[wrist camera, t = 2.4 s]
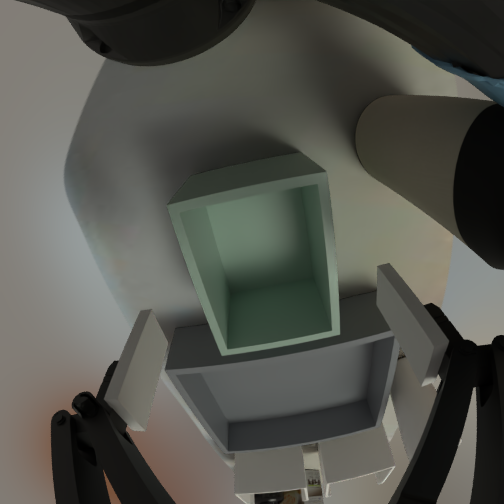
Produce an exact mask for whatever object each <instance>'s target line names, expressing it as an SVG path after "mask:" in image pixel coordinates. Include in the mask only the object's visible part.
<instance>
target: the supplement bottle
mask: <svg viewBox="0 0 504 504" xmlns="http://www.w3.org/2000/svg"><path fill="white" fill-rule="evenodd" d="M283 501H284V491H281V492H271V493H258V494H254V503H255V504H281V503H282V502H283Z"/></svg>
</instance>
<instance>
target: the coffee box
mask: <svg viewBox="0 0 504 504" xmlns="http://www.w3.org/2000/svg"><path fill="white" fill-rule="evenodd" d="M305 475H306V483H307V491H308V499H309V500H308V501H302V493H301V489H297V490H290V491H284V501H283V502H282V503H281V504H324V503H323V496H322V488H321V481H320V474H319V470H305Z"/></svg>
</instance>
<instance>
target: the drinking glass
mask: <svg viewBox="0 0 504 504" xmlns="http://www.w3.org/2000/svg"><path fill="white" fill-rule="evenodd" d="M390 395H391V399H392V402H393V406H394V410H395V413H396V417H397V421H398V425H399V429H400V433H401V437H402V441H403V444H404V448H405V451H406V453H407V456H408V459H409V461H411V459H412V457H413V455H414V453H415V450H416V448H417V446H418V443H419V441H420V439H421V436H422V434H423V431H424V429H425V426H426V423H427V421H428V418H429V415H430V413H431V410H432V407H433V404H434V401H435V398H436V395H437V392H436V389H435V388H434V386H433V385H432V383H430V384H427V385H425V386H422V387H421V385H420V383H419V381H418V379H417V377H416V375H415V373H414V371H413V369H412V367H411V365H410V364H409V362H408V360H407V358H406V357H404V358H401V359H399V360H397V365H396V369H395V374H394V378H393V382H392V386H391V390H390ZM461 442H462V438H461V439H460V442H459V445H460V444H461ZM459 445H458V446H459Z"/></svg>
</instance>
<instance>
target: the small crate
mask: <svg viewBox="0 0 504 504" xmlns="http://www.w3.org/2000/svg"><path fill="white" fill-rule="evenodd" d="M167 209H168V212H169V215H170V218H171V221H172V224H173V227H174V230H175V233H176V236H177V239H178V242H179V245H180V248H181V251H182V254H183V256H184V259H185V262H186V265H187V268H188V270H189V273H190V276H191V279H192V281H193V284H194V287H195V290H196V292H197V295H198V297H199V300H200V303H201V305H202V308H203V311H204V313H205V316H206V318H207V321H208V323H209V326H210V328H211V331H212V333H213V336H214V338H215V341H216V343H217V345H218V348H219V350H220V353H221V355H222V356H225V355H232V354H239V353H246V352H252V351H259V350H265V349H271V348H277V347H282V346H288V345H293V344H298V343H303V342H308V341H313V340H318V339H322V338H327V337H331V336H336V335H340V313H339V291H338V275H337V261H336V248H335V237H334V227H333V217H332V208H331V200H330V192H329V184H328V177H327V171H325V170H324V169H323V168H322V167H320V166H319V165H318V164H316V163H315V162H314V161H312V160H311V159H310V158H308V157H307V156H306V155H304V154H303V153H302V152H299V153H293V154H288V155H282V156H277V157H271V158H266V159H261V160H256V161H251V162H247V163H242V164H237V165H233V166H228V167H224V168H220V169H215V170H211V171H207V172H203V173H199V174H195V175H191V176H190V177H189V179H188V180H187V181H186V182H185V183H184V184H183V186H182V187H181V188H180V189H179V191H178V192H177V193H176V194H175V195H174V197H173V198H172V199H171V200H170V202H169V203H168V204H167Z"/></svg>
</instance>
